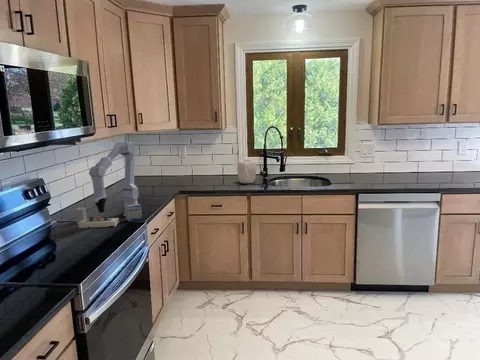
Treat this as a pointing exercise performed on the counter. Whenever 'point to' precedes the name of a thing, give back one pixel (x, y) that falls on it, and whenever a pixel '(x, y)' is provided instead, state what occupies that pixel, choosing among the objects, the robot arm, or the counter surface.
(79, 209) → the grey cord holder
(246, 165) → the white faceted vase
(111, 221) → the power strip
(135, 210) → the medicine box
